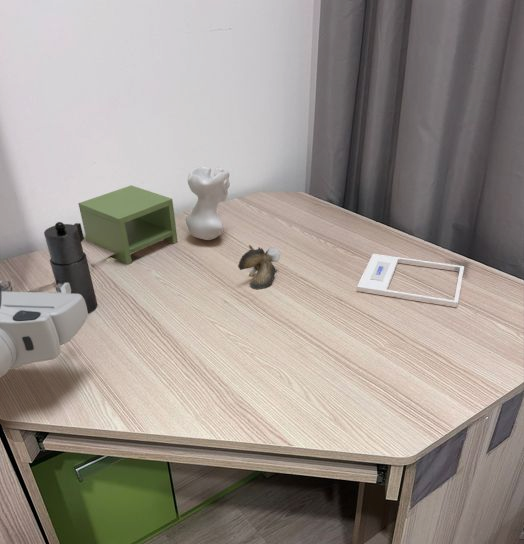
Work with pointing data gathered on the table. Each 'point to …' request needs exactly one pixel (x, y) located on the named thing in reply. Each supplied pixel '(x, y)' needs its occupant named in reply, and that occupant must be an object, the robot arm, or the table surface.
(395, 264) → the photo frame
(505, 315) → the table surface
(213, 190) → the white hourglass figure
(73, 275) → the coffee pot
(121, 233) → the nightstand
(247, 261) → the eagle figurine
